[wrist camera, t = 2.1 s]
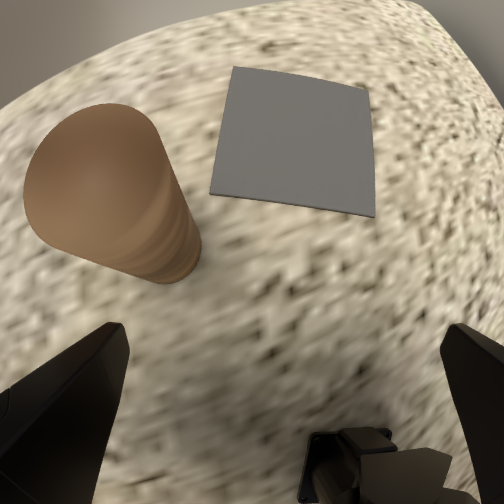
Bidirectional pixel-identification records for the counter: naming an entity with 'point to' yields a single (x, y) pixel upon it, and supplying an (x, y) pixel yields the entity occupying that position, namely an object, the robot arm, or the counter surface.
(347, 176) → the mat
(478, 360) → the robot arm
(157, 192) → the pepper mill
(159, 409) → the counter surface
